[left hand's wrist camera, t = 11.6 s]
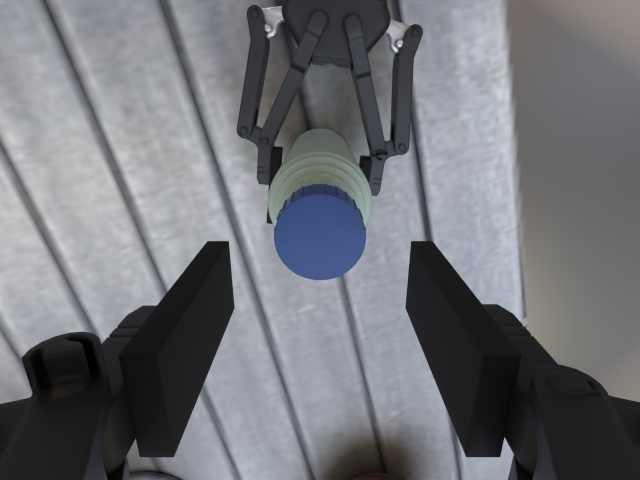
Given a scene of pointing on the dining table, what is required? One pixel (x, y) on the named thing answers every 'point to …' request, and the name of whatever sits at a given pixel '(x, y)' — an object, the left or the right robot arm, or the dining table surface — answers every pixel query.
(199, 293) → the left robot arm
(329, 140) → the bottle
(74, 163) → the dining table surface
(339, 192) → the cap
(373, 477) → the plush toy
